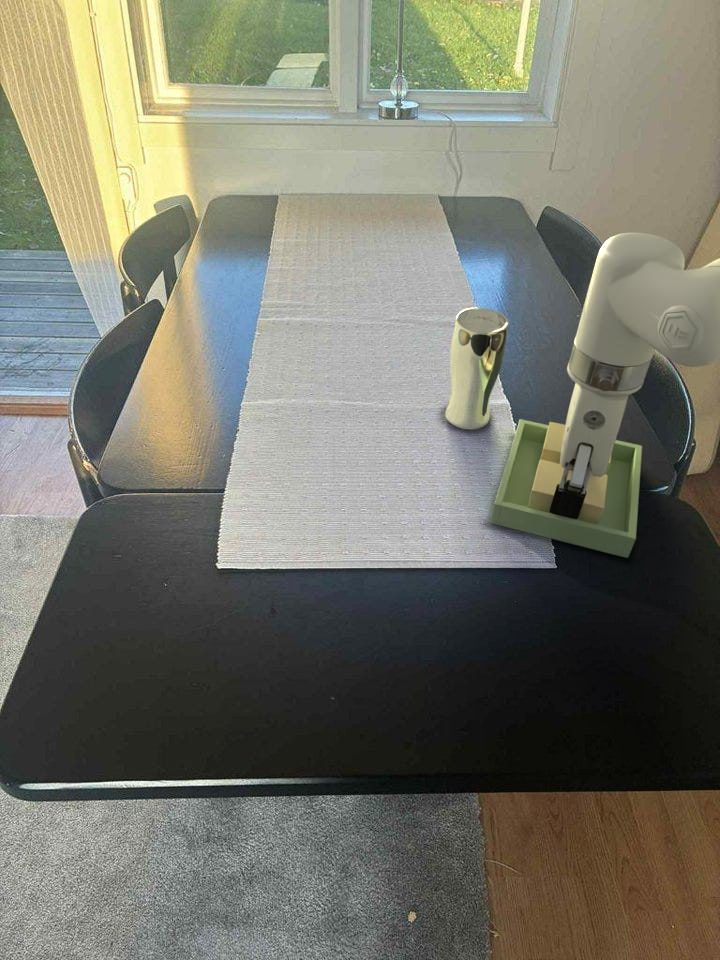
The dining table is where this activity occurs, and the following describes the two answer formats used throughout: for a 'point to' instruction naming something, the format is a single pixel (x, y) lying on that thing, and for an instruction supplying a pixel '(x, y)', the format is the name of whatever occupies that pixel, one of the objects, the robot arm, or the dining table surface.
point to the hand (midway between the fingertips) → (567, 492)
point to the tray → (607, 536)
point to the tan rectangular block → (552, 475)
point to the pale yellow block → (556, 444)
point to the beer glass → (475, 365)
